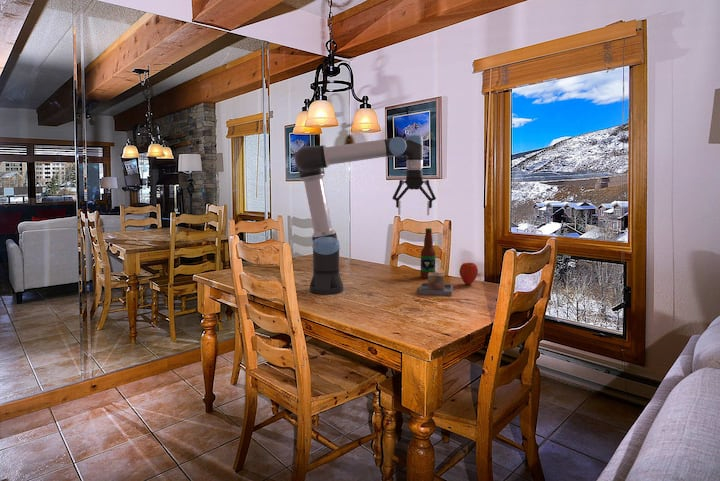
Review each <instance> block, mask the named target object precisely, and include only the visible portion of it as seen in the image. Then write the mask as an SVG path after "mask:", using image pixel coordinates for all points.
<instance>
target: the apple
mask: <svg viewBox="0 0 720 481" xmlns="http://www.w3.org/2000/svg"><path fill="white" fill-rule="evenodd" d="M478 275H479V270H478V266H477V264H475V263H474V262H464V263H462V264H461V265H460V267H459V276H460V279H462V281H463V283H464V284H465V285H472V284H473V283H474V282H475V280H476V279H477V277H478Z"/></svg>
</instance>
